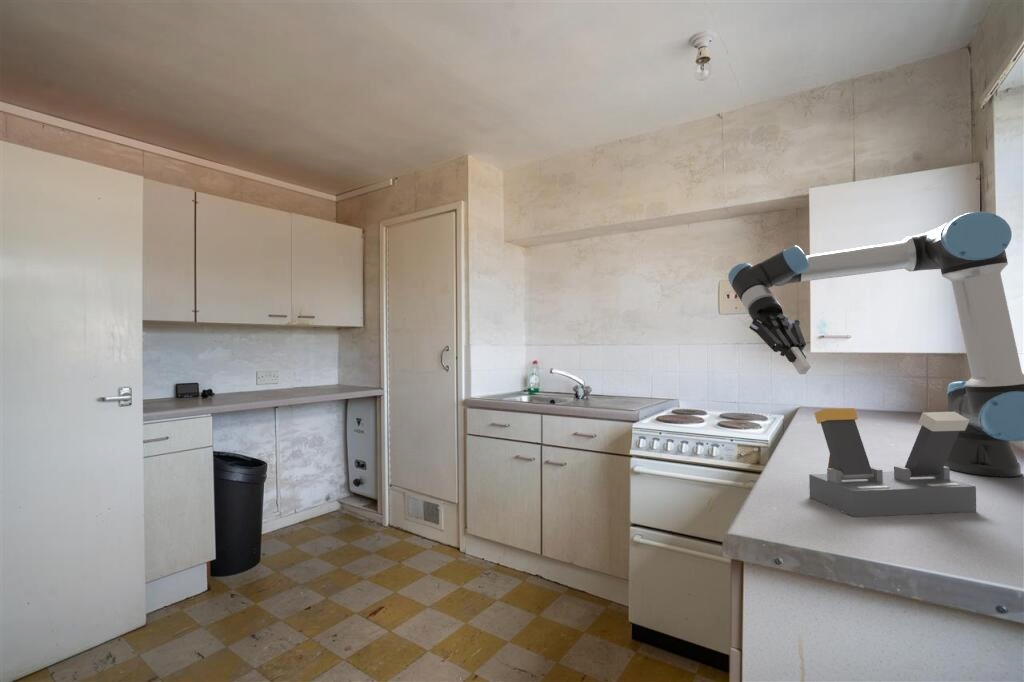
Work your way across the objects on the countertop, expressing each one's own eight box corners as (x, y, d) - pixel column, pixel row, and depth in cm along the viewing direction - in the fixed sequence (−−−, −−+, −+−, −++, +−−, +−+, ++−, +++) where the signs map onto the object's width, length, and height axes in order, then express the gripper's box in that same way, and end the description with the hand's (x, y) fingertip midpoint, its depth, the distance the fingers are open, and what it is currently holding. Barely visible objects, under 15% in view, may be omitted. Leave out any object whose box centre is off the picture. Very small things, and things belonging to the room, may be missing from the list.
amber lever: (834, 481, 99) (814, 412, 105) (866, 479, 100) (843, 412, 106) (845, 479, 96) (823, 408, 102) (877, 477, 97) (854, 408, 103)
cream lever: (898, 471, 101) (922, 412, 96) (928, 470, 102) (954, 411, 96) (911, 481, 98) (936, 420, 93) (942, 480, 99) (969, 420, 93)
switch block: (919, 492, 106) (919, 459, 106) (976, 511, 94) (975, 473, 94) (809, 497, 104) (809, 462, 104) (853, 516, 92) (852, 478, 92)
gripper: (778, 316, 132) (823, 380, 116) (733, 316, 131) (772, 381, 115) (791, 295, 127) (839, 359, 110) (744, 295, 126) (786, 359, 109)
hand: (805, 370), depth 113 cm, fingers closed
